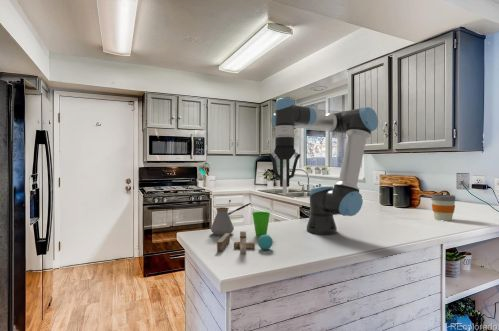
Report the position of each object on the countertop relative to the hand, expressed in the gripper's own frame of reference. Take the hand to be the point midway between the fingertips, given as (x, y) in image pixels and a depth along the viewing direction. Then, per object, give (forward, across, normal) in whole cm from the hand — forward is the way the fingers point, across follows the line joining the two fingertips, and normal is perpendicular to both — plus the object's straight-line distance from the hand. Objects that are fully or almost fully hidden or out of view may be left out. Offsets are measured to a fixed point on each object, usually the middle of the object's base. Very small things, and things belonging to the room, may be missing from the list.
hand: (284, 194), depth 115 cm
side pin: (+22, -16, -7) cm, 28 cm away
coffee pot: (+23, -27, +23) cm, 42 cm away
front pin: (+21, -12, 0) cm, 25 cm away
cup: (+23, -12, +21) cm, 33 cm away
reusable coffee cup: (+23, +96, +76) cm, 125 cm away
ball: (+19, -8, -1) cm, 21 cm away
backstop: (+22, -26, 0) cm, 34 cm away
